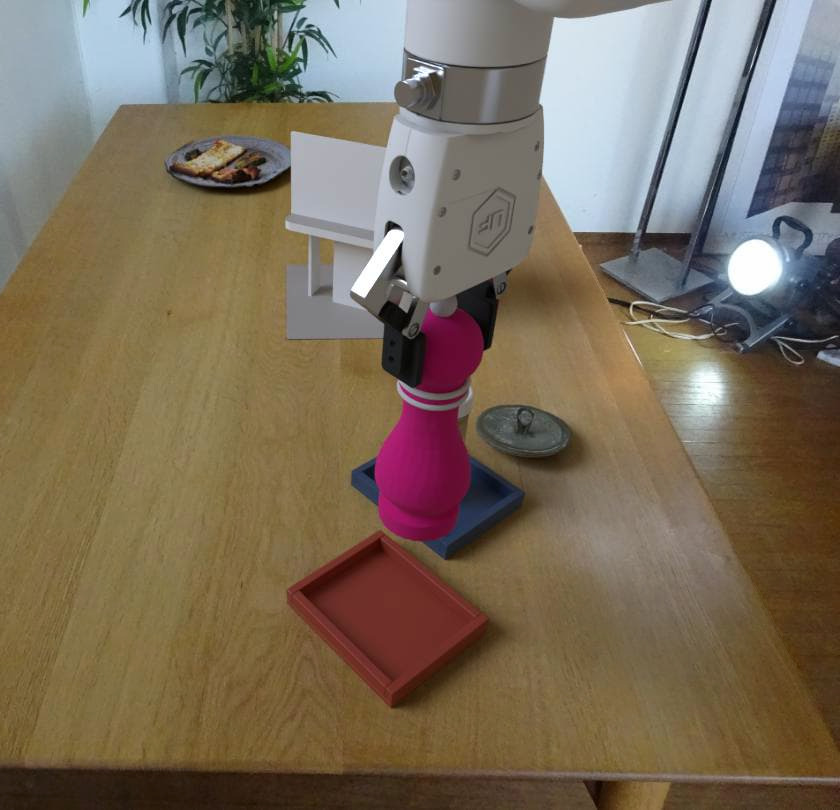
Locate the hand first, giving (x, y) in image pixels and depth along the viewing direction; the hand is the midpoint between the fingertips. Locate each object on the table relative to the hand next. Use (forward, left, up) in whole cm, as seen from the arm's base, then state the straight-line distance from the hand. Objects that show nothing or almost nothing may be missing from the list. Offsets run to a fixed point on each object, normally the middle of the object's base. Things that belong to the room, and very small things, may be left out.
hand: (436, 356), depth 55 cm
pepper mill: (0, 0, -15) cm, 15 cm away
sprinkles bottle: (+9, -14, -28) cm, 33 cm away
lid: (+9, -28, -29) cm, 41 cm away
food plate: (+96, -49, -29) cm, 112 cm away
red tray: (+1, +1, -28) cm, 28 cm away
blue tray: (+9, -14, -28) cm, 33 cm away
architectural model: (+42, -38, -29) cm, 64 cm away
